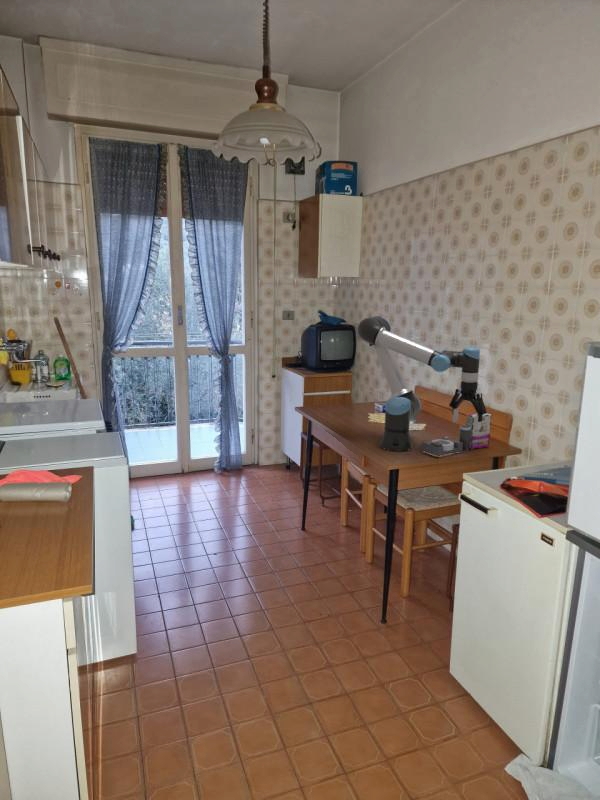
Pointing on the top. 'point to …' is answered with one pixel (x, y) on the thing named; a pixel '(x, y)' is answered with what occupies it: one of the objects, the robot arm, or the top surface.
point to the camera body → (442, 446)
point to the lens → (465, 436)
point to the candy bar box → (479, 431)
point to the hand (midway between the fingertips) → (466, 425)
